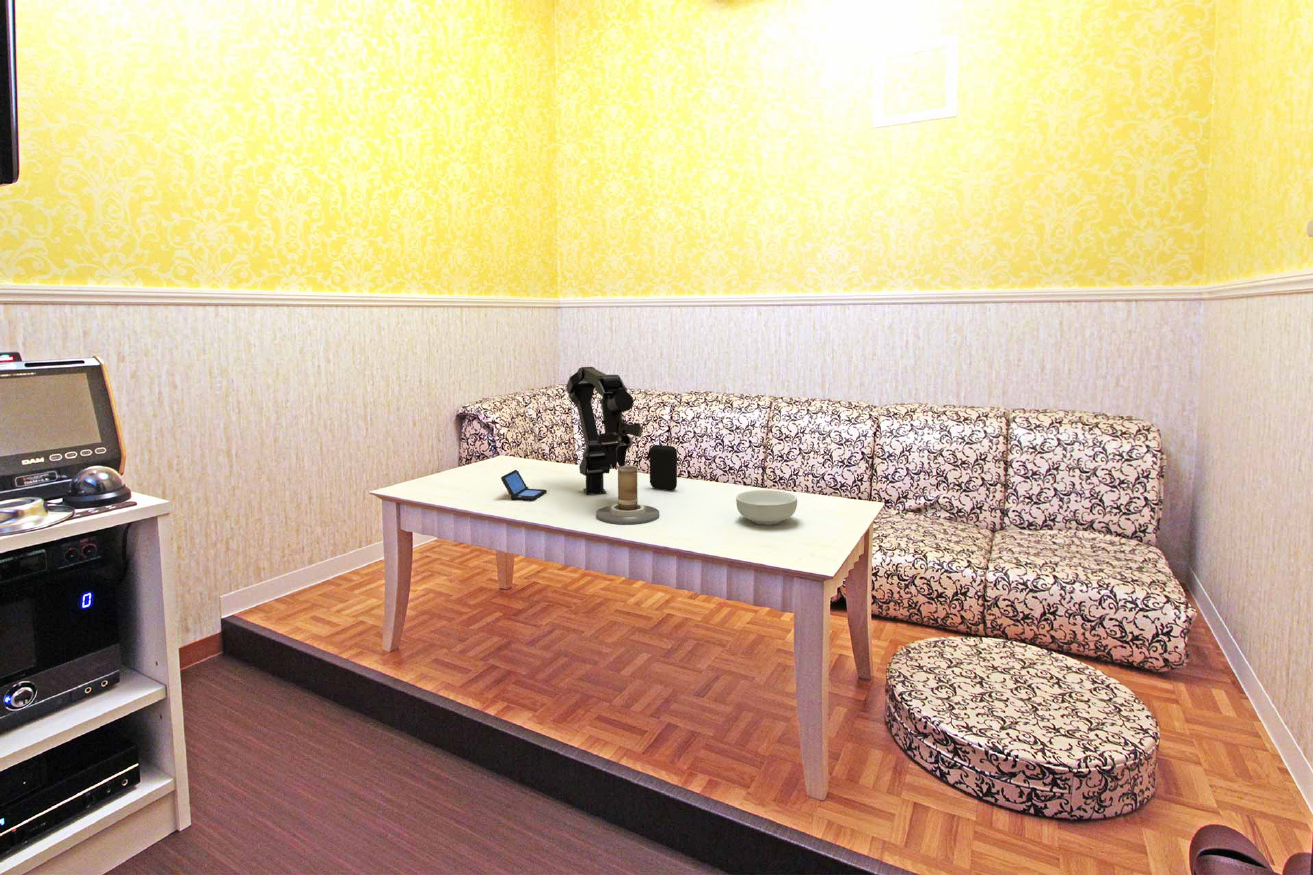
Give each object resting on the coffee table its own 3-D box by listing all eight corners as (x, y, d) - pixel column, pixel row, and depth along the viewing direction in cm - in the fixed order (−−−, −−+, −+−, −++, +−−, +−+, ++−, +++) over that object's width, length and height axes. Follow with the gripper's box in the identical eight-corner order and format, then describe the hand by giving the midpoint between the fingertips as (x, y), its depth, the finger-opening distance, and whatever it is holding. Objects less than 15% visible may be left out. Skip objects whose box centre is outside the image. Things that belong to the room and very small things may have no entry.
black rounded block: (645, 488, 239) (645, 444, 237) (649, 486, 242) (649, 443, 239) (674, 492, 234) (674, 447, 232) (678, 490, 237) (678, 445, 234)
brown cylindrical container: (621, 508, 210) (621, 465, 208) (639, 510, 209) (639, 466, 206) (615, 513, 205) (615, 469, 202) (634, 515, 203) (634, 470, 201)
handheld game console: (533, 502, 222) (532, 478, 221) (500, 500, 224) (499, 477, 223) (548, 492, 234) (547, 470, 233) (516, 491, 236) (516, 468, 235)
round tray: (591, 509, 213) (590, 501, 212) (650, 505, 218) (650, 497, 217) (602, 526, 196) (602, 517, 195) (666, 521, 200) (666, 513, 200)
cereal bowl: (756, 509, 213) (756, 486, 212) (807, 519, 203) (808, 495, 202) (723, 522, 201) (724, 497, 199) (776, 533, 190) (777, 507, 189)
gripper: (631, 409, 205) (637, 464, 204) (645, 415, 224) (651, 465, 222) (593, 415, 207) (600, 469, 206) (610, 420, 226) (616, 470, 224)
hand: (618, 468), depth 215 cm, fingers open, 9 cm apart
